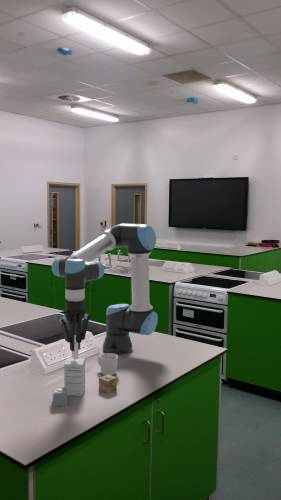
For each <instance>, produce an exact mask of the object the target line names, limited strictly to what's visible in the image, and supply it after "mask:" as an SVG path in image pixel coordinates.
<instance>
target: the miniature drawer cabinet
mask: <svg viewBox="0 0 281 500" xmlns="http://www.w3.org/2000/svg"><path fill="white" fill-rule="evenodd" d="M63 365H64V367H63V370H64V371H63V379H64V382H63V383H64V386H63V387H66V389H67V396H77V397H78V396H80V397H81V396H84V393H85V391H86V390H85V389H86V358H85V357H78V359H76V360H75V359H73V358H72V357H67V358H66V360H65V362H64V364H63Z"/></svg>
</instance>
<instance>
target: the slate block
mask: <svg viewBox="0 0 281 500" xmlns="http://www.w3.org/2000/svg"><path fill="white" fill-rule="evenodd" d="M52 406H53V408H54V407H55V408H56V407H65V406H66V407H67V406H68V395H67V389H66V387H64V386H63V387H53V388H52Z"/></svg>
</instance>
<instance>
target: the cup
mask: <svg viewBox="0 0 281 500" xmlns="http://www.w3.org/2000/svg"><path fill="white" fill-rule="evenodd" d="M118 360H119V354H113V353H106V352H105V353H102V354H100V355H99V356H98V357H97V363H98V365H99V366H100V372H101V374H102V376H104V375H107V374H109V375H111V376H115V375H116V374H117V369H118Z"/></svg>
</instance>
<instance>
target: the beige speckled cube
mask: <svg viewBox="0 0 281 500" xmlns="http://www.w3.org/2000/svg"><path fill="white" fill-rule="evenodd" d="M117 380H118V378H117V377H116V376H115V375H112V376H111V375H109V374H107V375H102V376H100V377H99V378H98V390H99V391H101V392H104V393H106V394H110V393H112V392H113V391H116V390H117V383H118V382H117Z"/></svg>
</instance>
